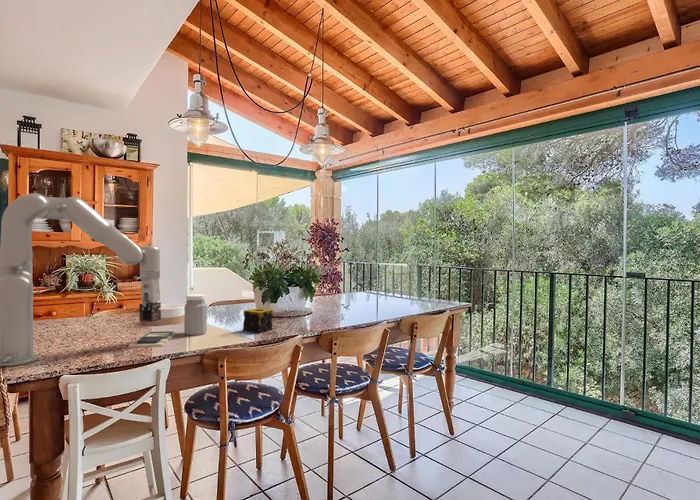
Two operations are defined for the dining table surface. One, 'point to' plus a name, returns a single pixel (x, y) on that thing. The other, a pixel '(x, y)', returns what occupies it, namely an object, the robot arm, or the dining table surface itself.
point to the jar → (195, 315)
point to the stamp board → (153, 339)
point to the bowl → (171, 314)
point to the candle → (257, 320)
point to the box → (154, 312)
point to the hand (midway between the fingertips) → (150, 317)
